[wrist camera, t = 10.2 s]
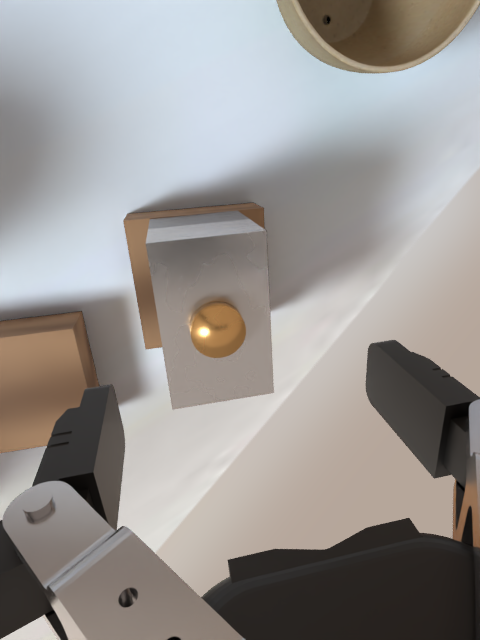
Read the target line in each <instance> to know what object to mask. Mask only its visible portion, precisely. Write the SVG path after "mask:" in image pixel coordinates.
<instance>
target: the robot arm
mask: <svg viewBox="0 0 480 640" xmlns="http://www.w3.org/2000/svg"><path fill="white" fill-rule="evenodd" d="M366 392H367V396H368V398H369V401H370V403H371V404H372V406H373V407H374V408H375V409H376V410H377V411H378V412H379V414H380V415H381V416H382V417H383V418H384V420H385V421H386V422H387V423H388V424H389V426H390V427H391V428H392V429H393V430H394V432H395V433H397V435H398V436H399V437H400V439H401V440H402V441H403V442H404V443H405V445H406V446H407V447H408V448H409V449H410V450H411V451H412V453H413V454H414V455H415V456H416V457H417V459H418V460H419V461H420V462H421V463H422V464H423V466H424V467H425V468H426V469H427V470H428V472H429V473H430V474H431V475H432V476H433V478H438V477H443V476H448V475H453V477H454V478H455V483H454V489H453V539H451V538H448V537H444V536H439V535H434V534H427V533H419V532H418V530H417V529H416V527H415V526H414V524H413V523H412V521H411V520H410V518H406V519H402V520H398V521H394V522H389V523H385V524H380V525H376V526H372V527H368V528H365V529H364V530H362V531H360V532H358V533H356V534H355V535H353V536H351V537H349V538H347V539H345V540H344V541H342V542H340V543H338V544H336V545H335V546H333V547H331V548H329V549H325V550H304V549H301V550H300V549H273V550H268V551H264V552H260V553H256V554H251V555H247V556H243V557H238V558H234V559H230V560H228V565H229V573H230V577H228V578H226V579H225V580H223V581H221V582H220V583H218V584H217V585H215V586H214V587H213V588H211V589H210V590H209V591H208V592H207V593H206V594H204V595H203V597H200V596H199V595H197V593H196V592H195V591H194V590H193V589H192V588H191V587H190V586H188V585H187V584H186V583H185V582H184V581H183V580H182V579H181V578H180V577H179V576H178V575H177V574H176V573H175V572H174V571H173V570H172V569H171V568H170V567H169V566H168V565H167V564H166V563H164V561H162V560H161V559H160V558H159V557H158V556H157V555H156V554H155V553H154V552H153V551H152V550H151V549H150V548H149V547H148V546H147V545H146V544H145V543H144V542H143V541H142V540H141V539H140V538H139V537H138V536H137V535H135V534H134V533H133V532H132V531H131V530H130V529H129V528H127V527H125V526H122V527H120V528H119V529H118V530H117V521H118V511H119V501H120V491H121V482H122V472H123V462H124V452H125V437H124V430H123V425H122V421H121V416H120V412H119V408H118V403H117V399H116V395H115V391H114V388H113V386H112V385H105V386H99V387H93V388H87V389H85V390H84V393H83V397H82V400H81V403H80V407H76V408H70V409H67V410H66V411H65V412H64V413H63V414H62V416H61V417H60V418H59V419H58V420H57V421H56V422H55V425H54V428H53V431H52V433H51V437H50V439H49V442H48V444H47V448H46V450H45V452H44V455H43V458H42V461H41V463H40V466H39V469H38V472H37V474H36V477H35V480H34V482H33V485H32V487H31V488H29V489H27V490H25V491H24V492H23V493H21V494H20V495H19V496H17V497H16V498H15V499H14V500H13V501H12V502H11V503H10V505H9V506H8V507H7V509H6V511H5V513H4V515H3V520H1V521H0V639H1V638H3V637H5V636H7V635H8V634H10V633H12V632H14V631H16V630H18V629H19V628H21V627H23V626H25V625H27V624H28V623H30V622H32V621H34V620H36V619H38V618H39V617H41V616H43V617H44V619H45V621H46V622H47V624H48V625H49V627H50V628H51V630H52V632H53V633H54V635H55V636H56V638H57V640H480V397H478V396H477V395H476V394H474V393H473V392H472V391H470V390H469V389H468V388H466V387H465V386H464V385H463V384H461V383H460V382H458V381H457V380H456V379H455V378H454V377H450V375H449V374H448V373H447V372H446V371H444V370H443V369H442V370H441V368H440V367H439V366H438V365H436V364H435V363H434V362H433V361H431V360H430V359H428V358H426V357H424V356H421V355H418V354H416V353H414V352H410V351H409V350H407V349H406V348H405V347H404V346H402V345H401V344H400V343H399V342H397V341H396V340H390V341H384V342H377V343H372V344H370V346H369V348H368V358H367V373H366ZM116 530H117V531H116Z"/></svg>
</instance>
